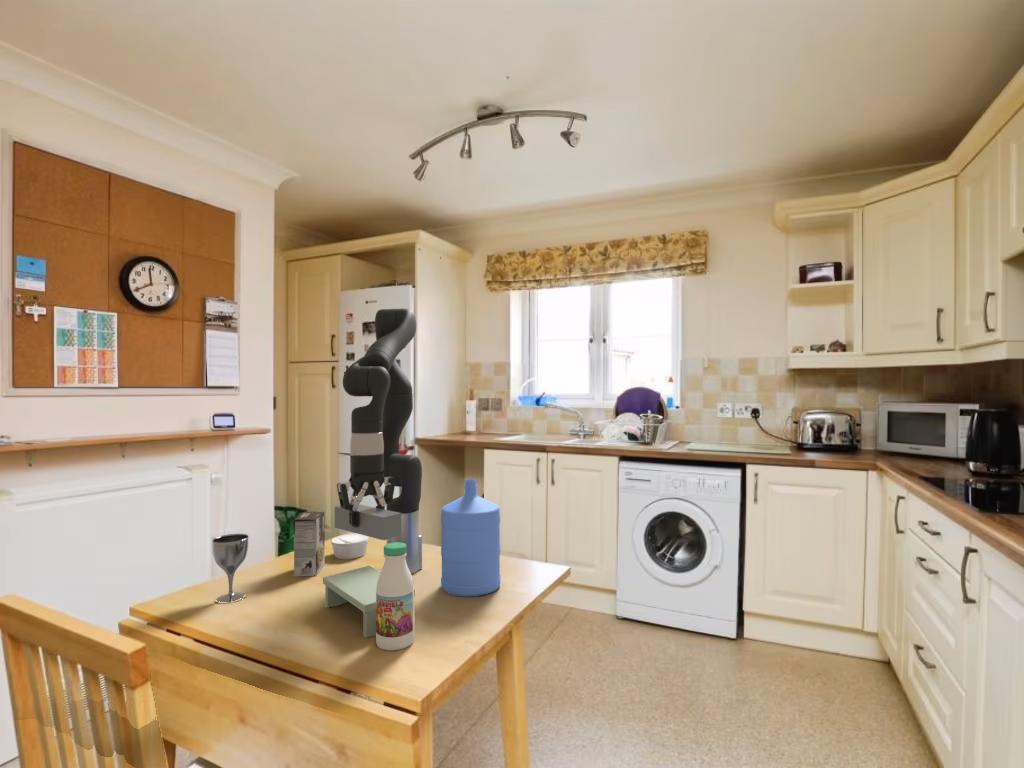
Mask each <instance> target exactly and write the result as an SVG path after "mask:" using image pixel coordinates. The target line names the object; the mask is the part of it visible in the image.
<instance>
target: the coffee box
mask: <svg viewBox="0 0 1024 768" xmlns="http://www.w3.org/2000/svg"><path fill="white" fill-rule="evenodd" d="M325 518H326V517H325V511H303V512H301V513H300V514H299V515H298V516H296V517H295V518H294V519H293V577H295V576H296V577H315V576H317V575H318V574H319V573H320V572H321V571H322V569H323V568H324V566H325V565H326V563H325V562H326V559H325V558H326V554H325V553H326V552H325V551H326V547H325V546H326V544H325V542H326V541H325V539H326V538H325V536H326V534H325V531H326V529H325V527H326V525H325ZM314 575H315V576H314Z"/></svg>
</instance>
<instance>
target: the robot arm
mask: <svg viewBox="0 0 1024 768" xmlns="http://www.w3.org/2000/svg"><path fill="white" fill-rule="evenodd" d="M374 329H375V330H374V331H375V341H374V342H372V344H371V345H370V346H369V347H368V349H367V351H366V352H365V353H364V355H363V356H362V357H360V358H359V359H357V360H356V361H354V362H353V363H352V364H350V366H349V367H348V368H347V369H346V370H345V371H344V374H343V377H342V387H343V389H344V392H346V394H348V395H349V396H352V397H371V400H370V401H369V403H368V404H366V405H362V406H358V407H355V408H353V409H352V411H351V417H350V418H351V420H350V421H351V427H350V429H351V431H350V432H351V433H350V434H351V436H350V442H349V443H350V444H349V445H350V446H349V449H350V450H349V451H350V453H349V456H350V461H349V463H350V464H349V465H350V466H349V468H350V469H349V470H350V478H349V479H348V481H345V482H337V484H336V489H337V495H338V500H339V506H341V508H343V509H346V510H349V523H350V525H351V526H352V527H354V528H356V527H358V511H357V509H358V506H359V504H360V503H361V502H362V501H363V498H365V497H368V496H372V497H373V499H374V501H375V503H376V505H375V508H379V509H384V510H389V511H394V512H399V513H401V535H400V536H397V537H393V538H390V539H387V540H386V544H389V543H395V542H400V543H404V544H406V547H407V551H406V554H407V555H406V556H405V559H406V563H407V566H408V569H409V571H410V573H411V575H412V574H414V573H416V572H418V571H419V570H422V569H423V536H422V535H421V534H420V501H421V498H422V481H423V478H422V477H423V468H422V462H421V459H420V458H419V457H418V456H417V455H413V454H400V439H401V435H402V432H403V430H404V428H405V426H406V425H407V423H408V421H409V419H410V417H411V415H412V412H413V408H414V402H413V401H414V400H413V386H412V383H411V381H410V379H409V377H408V376H407V375H406V373H404V371H403V370H402V368H401V366H400V365H399V364H398V362H397V360H396V358H397V357H398V355H400V353H401V352H402V351H403V350H404V349H405V348H406V346H407V345H408V344H409V343H410V342H412V340H413V339H414V338H415V335H416V332H417V319H416V315H415V313H414V311H412V310H411V309H410V308H404V307H403V308H384V309H383V308H382V309H379V310H377V312H376V314H375V317H374ZM382 485H384V490H383V491H382V489H381V487H382ZM395 487H398V488H399V487H400V488H401V489H400V495H398V496H396V497H394V493H395ZM350 488H351V489H352V492H351V495H350V499H349V493H348V492H349V490H350ZM360 505H361V504H360Z"/></svg>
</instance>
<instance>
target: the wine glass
mask: <svg viewBox="0 0 1024 768" xmlns="http://www.w3.org/2000/svg"><path fill="white" fill-rule="evenodd" d="M211 546H212V554H213V555H212V556H213V558H214V562H215V564H216V565H217V566H218V567H219V568H221V569H222V571H224V573H225V574H226V576H227V579H228V580H227V581H228V582H227V583H228V593H225V594H221V595H219V596H220V597H219V596H218V598H217V597H216V598H217V599H216V598H215V599H216V600H217V601H218V602H219V601H220V602H231V601H235V600H238V599H241V598H243V596H244V595H245V594H246V593H245V592H242V593H241V591H237V592H236V591H235V592H234V593H233V591H234V590H233V581H234V575H235V574H236V572H237V570H238V568H239V567H240V566H241V565H242V564H243V563H244V561H245V560H246V558H247V554H248V550H249V535H248V534H246V533H230V534H224V535H220V536H219V535H218V536H216V537H213V539H212V545H211ZM244 593H245V594H244Z"/></svg>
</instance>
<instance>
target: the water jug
mask: <svg viewBox="0 0 1024 768" xmlns="http://www.w3.org/2000/svg"><path fill="white" fill-rule="evenodd" d="M500 524H501V512H500V506H499V505H498V504H496V503H494V502H492V501H490V500H487V499H485V498H483V497H481V496H480V495H478V494H477V479H473V478H469V479H464V495H462V496H461V497H459V498H457V499H455V500H453V501H450V502H448V503H447V504H445V505H443V506H442V507H441V515H440V525H441V545H440V555H441V577H440V583H441V584H440V585H441V588H442V590H444V591H445V592H446V593H447V594H450V595H453V596H455V597H456V596H457V597H463V598H464V597H467V598H470V597H473V596H474V597H479V596H480V597H481V596H485V594H486V595H488V593H489V594H491V593H493V592H495V591H497V589H498V588H499V587H500V585H501V578H502V577H501V573H500V572H501V571H500V568H501V567H500V565H501V564H500V562H501V561H500V558H501V557H500V556H501V543H500V542H501V537H500V535H501V534H500V530H501V529H500V527H501V525H500Z"/></svg>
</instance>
